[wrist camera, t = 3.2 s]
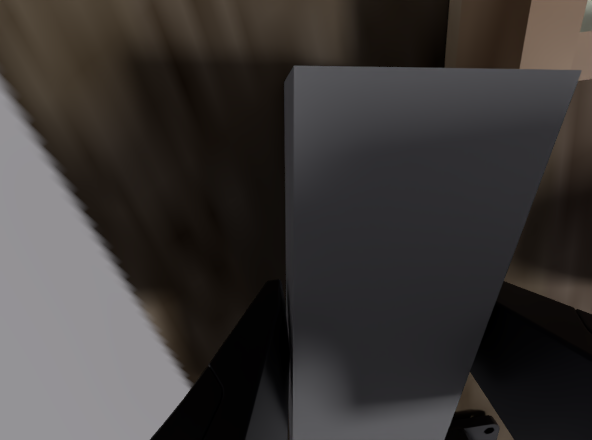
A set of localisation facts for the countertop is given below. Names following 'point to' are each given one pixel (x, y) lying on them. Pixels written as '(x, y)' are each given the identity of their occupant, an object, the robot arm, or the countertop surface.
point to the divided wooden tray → (520, 35)
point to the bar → (403, 234)
